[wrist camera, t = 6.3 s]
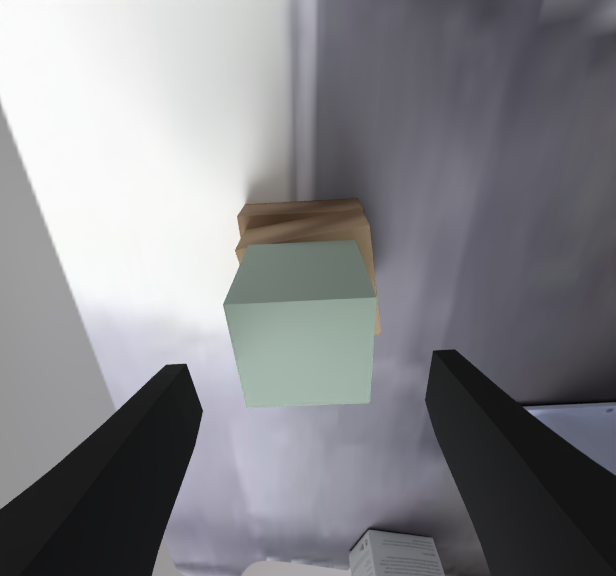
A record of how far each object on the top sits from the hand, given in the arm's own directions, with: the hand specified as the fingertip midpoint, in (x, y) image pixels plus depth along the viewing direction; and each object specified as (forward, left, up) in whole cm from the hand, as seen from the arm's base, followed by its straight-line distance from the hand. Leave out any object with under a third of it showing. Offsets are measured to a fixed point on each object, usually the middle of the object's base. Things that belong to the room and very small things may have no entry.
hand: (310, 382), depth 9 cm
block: (0, 0, -5) cm, 5 cm away
